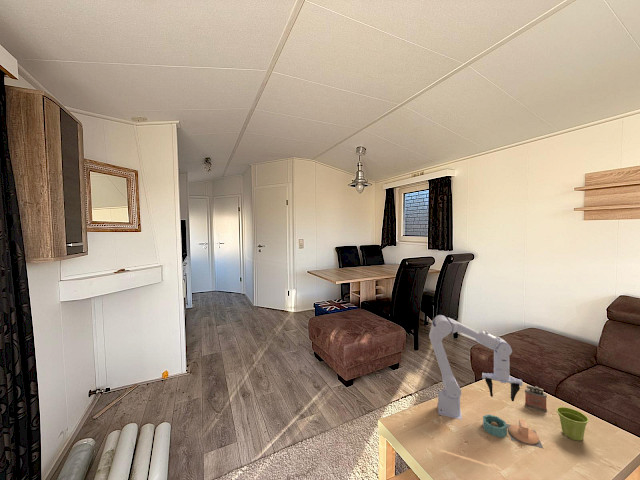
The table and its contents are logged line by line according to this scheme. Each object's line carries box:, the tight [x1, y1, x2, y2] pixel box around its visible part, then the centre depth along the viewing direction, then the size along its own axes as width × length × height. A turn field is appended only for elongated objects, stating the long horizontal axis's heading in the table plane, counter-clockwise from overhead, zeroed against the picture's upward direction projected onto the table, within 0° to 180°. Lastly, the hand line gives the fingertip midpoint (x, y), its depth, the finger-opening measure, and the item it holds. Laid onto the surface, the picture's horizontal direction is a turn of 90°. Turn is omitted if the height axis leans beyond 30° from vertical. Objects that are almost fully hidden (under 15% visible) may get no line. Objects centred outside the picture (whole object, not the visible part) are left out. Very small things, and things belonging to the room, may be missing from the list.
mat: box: [506, 423, 545, 449], centre depth 106 cm, size 10×10×1 cm
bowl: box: [482, 414, 508, 438], centre depth 109 cm, size 8×8×4 cm
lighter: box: [524, 384, 548, 413], centre depth 123 cm, size 8×3×10 cm, turn 58°
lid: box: [508, 418, 540, 446], centre depth 106 cm, size 10×10×5 cm
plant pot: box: [556, 406, 590, 442], centre depth 106 cm, size 9×9×9 cm
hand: (501, 397), depth 115 cm, fingers open, 7 cm apart
